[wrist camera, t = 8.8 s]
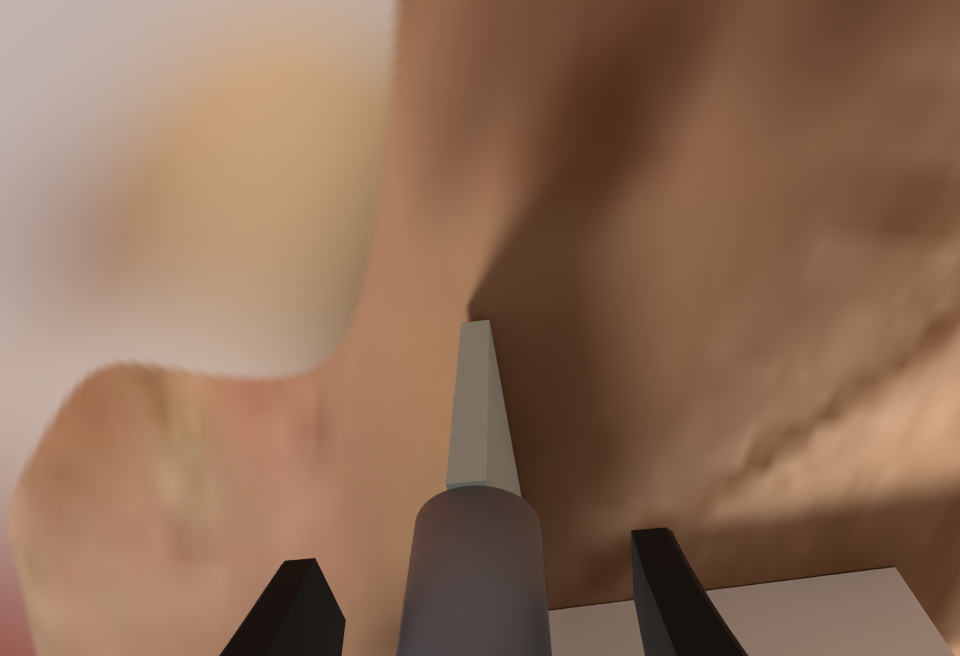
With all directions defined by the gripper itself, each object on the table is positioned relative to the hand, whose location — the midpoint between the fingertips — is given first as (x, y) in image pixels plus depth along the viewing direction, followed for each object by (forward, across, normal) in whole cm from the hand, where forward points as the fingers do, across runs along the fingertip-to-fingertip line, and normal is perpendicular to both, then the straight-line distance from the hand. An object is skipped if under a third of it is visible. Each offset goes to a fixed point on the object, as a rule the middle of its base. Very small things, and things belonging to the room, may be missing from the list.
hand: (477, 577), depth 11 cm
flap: (+7, 0, +5) cm, 9 cm away
